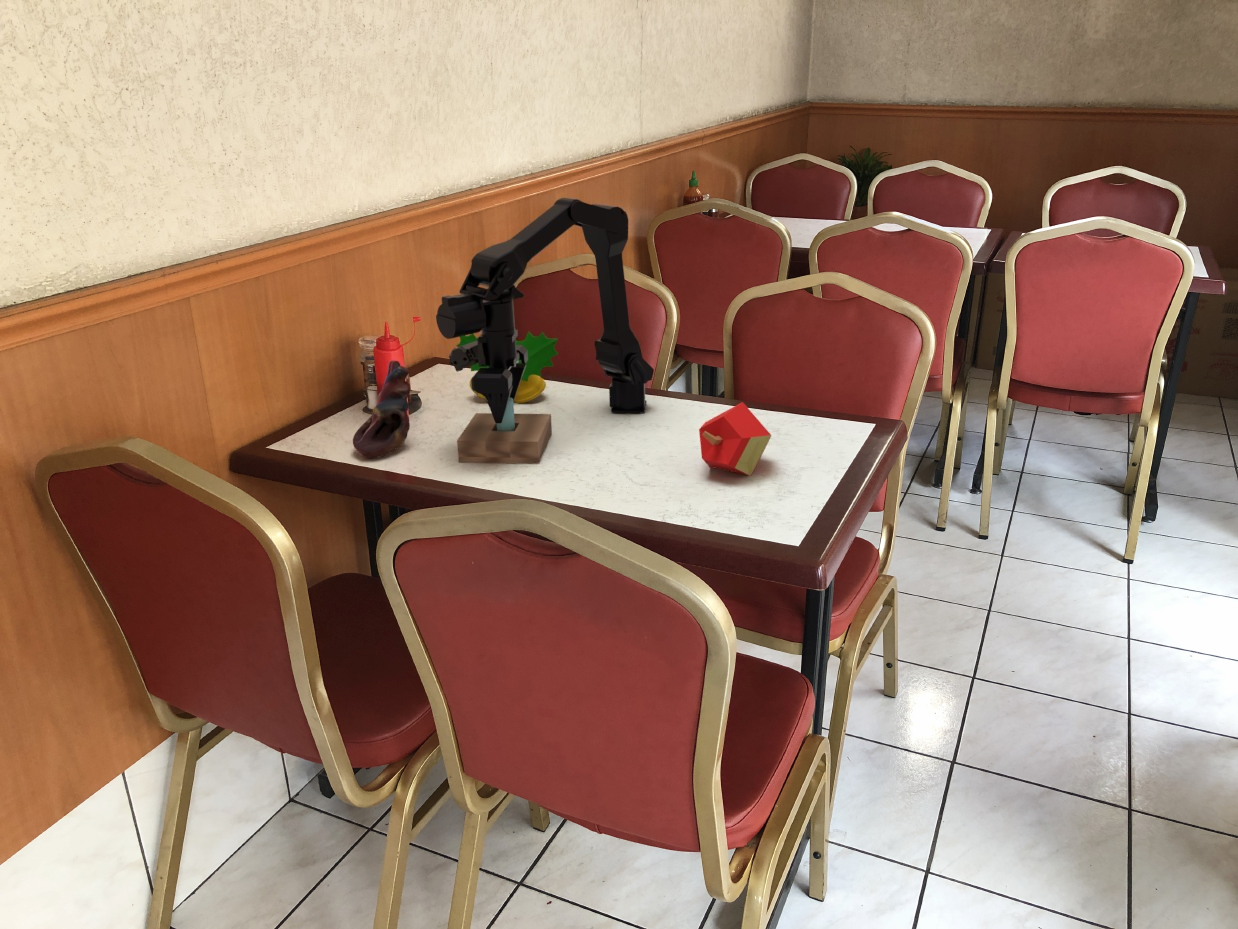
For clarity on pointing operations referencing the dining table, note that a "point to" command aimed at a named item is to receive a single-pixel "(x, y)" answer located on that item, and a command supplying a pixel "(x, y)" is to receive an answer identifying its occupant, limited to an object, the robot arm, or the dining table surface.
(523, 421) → the hole block
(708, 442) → the apple
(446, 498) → the dining table surface
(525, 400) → the ornament
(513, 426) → the dowel
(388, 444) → the anatomical model
